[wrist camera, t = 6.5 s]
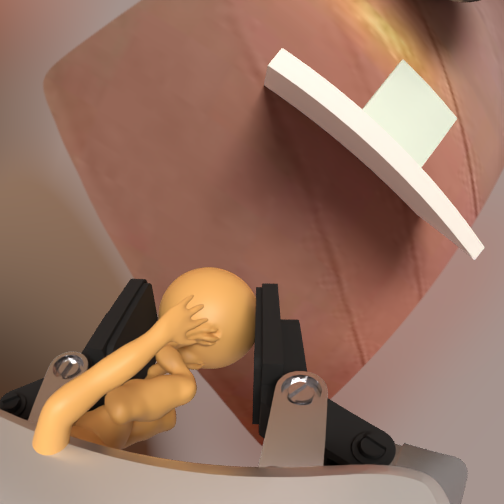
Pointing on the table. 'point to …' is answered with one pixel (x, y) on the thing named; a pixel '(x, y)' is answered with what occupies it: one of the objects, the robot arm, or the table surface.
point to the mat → (410, 112)
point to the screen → (369, 145)
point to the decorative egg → (465, 0)
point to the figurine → (154, 366)
